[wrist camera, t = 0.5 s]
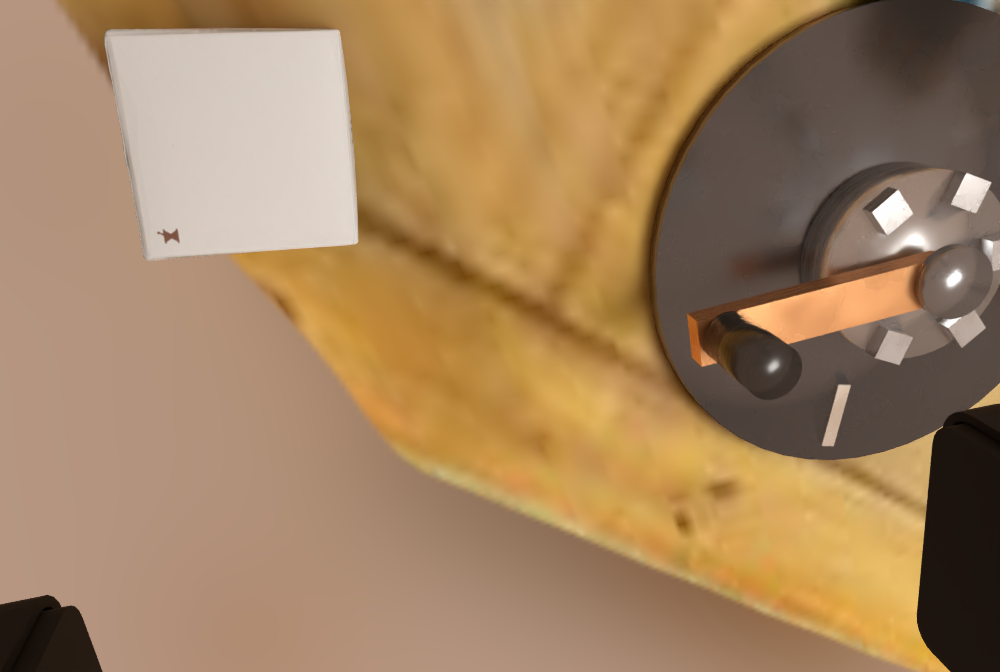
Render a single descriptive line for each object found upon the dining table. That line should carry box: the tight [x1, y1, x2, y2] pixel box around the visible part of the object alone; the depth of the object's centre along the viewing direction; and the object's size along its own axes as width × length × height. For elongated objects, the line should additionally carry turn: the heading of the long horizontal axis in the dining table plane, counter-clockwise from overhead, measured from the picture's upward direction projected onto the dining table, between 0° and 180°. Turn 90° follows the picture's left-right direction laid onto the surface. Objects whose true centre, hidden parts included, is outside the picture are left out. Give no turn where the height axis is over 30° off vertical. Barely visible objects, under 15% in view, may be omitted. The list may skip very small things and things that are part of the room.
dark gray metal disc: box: [649, 0, 1000, 460], centre depth 46 cm, size 26×26×1 cm
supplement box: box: [104, 28, 358, 261], centre depth 32 cm, size 7×7×13 cm
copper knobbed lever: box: [687, 161, 1000, 400], centre depth 40 cm, size 18×10×9 cm, turn 102°
